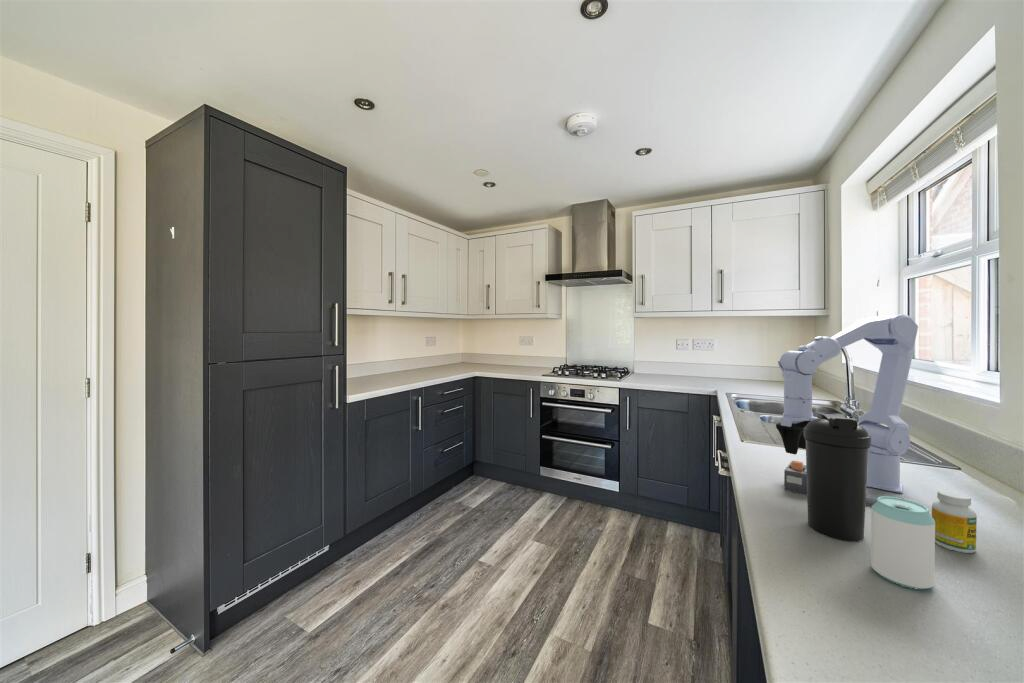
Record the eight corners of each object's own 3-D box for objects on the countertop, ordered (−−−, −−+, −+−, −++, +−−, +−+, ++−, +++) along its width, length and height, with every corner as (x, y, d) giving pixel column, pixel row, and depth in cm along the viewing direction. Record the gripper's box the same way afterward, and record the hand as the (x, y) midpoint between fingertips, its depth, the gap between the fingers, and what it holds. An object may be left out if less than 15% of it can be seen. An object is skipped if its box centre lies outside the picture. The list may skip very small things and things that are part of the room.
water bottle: (852, 522, 78) (853, 412, 78) (882, 548, 69) (883, 422, 68) (794, 514, 81) (795, 409, 81) (815, 538, 72) (816, 418, 72)
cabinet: (790, 481, 100) (790, 462, 100) (816, 486, 97) (816, 467, 96) (784, 489, 95) (784, 470, 95) (811, 496, 91) (812, 475, 91)
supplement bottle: (934, 535, 73) (935, 486, 73) (978, 548, 69) (979, 495, 68) (928, 543, 70) (929, 492, 70) (973, 557, 66) (974, 503, 66)
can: (948, 595, 56) (949, 515, 56) (893, 589, 57) (894, 511, 57) (907, 566, 63) (908, 495, 63) (859, 562, 64) (860, 492, 64)
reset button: (792, 475, 98) (792, 460, 98) (803, 477, 96) (803, 462, 96) (790, 477, 96) (790, 462, 96) (802, 480, 94) (802, 464, 94)
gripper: (805, 402, 89) (804, 460, 89) (827, 397, 97) (827, 450, 97) (771, 398, 94) (771, 452, 95) (795, 393, 102) (795, 443, 103)
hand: (797, 450), depth 96 cm, fingers open, 7 cm apart
